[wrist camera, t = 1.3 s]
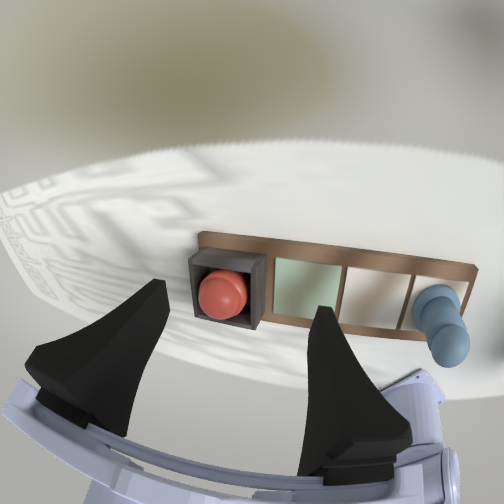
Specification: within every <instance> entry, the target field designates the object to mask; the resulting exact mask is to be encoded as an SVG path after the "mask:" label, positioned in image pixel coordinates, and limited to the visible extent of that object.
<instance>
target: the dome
mask: <svg viewBox="0 0 504 504" xmlns="http://www.w3.org/2000/svg"><path fill="white" fill-rule="evenodd" d="M250 296H251V284H250V281H249V279H248V278H247V276H246V275H245V274H244V273H243V272H239V271H233V270H226V269H220V268H215V269H214V270H213V271H212V272H211V273H210V274H209V275H208V276H207V277H206V278H205V279H204V280H203V281H202V283H201V285H200V289H199V296H198V299H199V304H200V307H201V308H202V310H203V311H204V313H205V314H207V315H208V316H209V317H211V318H214V319H219V320H222V319H227V318H230V317H233V316H236V315H237V314H239V313H240V312H241V310H242V309H243V307H244V306H245V304H246V303H247V301H248V299H249V298H250Z"/></svg>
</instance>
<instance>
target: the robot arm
mask: <svg viewBox="0 0 504 504" xmlns="http://www.w3.org/2000/svg"><path fill="white" fill-rule="evenodd" d="M169 313H170V307H169V301H168V295H167V289H166V282H165V281H164V280H159V279H153V280H151V281H150V282H149V283H148V284H146V285H145V286H144V287H143V288H141V289H140V290H139V291H138V292H136V293H135V294H134V295H133V296H131V297H130V298H129V299H127V300H126V301H125V302H124V303H122V304H121V305H119V306H118V307H117V308H115V309H114V310H112V311H111V312H110V313H108V314H107V315H105V316H104V317H102V318H101V319H99V320H97V321H96V322H94V323H92V324H91V325H89V326H87V327H85V328H83V329H81V330H79V331H77V332H75V333H73V334H70V335H68V336H66V337H63V338H61V339H58V340H56V341H52V342H49V343H46V344H42V345H39V346H36V348H35V349H34V351H33V352H32V354H31V355H30V356H29V358H28V360H27V361H26V363H25V368H26V370H27V371H28V373H29V374H30V375H31V376H32V377H33V379H34V380H35V381H36V382H37V383H38V384H39V385H40V386H41V389H40V390H39V391H38V390H37V389H36V388H34V387H33V386H32V385H30V384H29V383H27V382H26V381H24V380H23V379H20V381H19V382H18V384H17V386H16V387H15V389H14V391H13V393H12V394H11V396H10V398H9V400H8V402H7V403H6V405H5V407H4V409H3V411H2V415H3V416H5V417H6V418H7V419H8V420H9V421H10V422H11V423H13V424H14V425H15V426H16V427H17V428H19V429H20V430H21V431H22V432H23V433H25V434H26V435H27V436H28V437H30V438H31V439H32V440H33V441H35V442H36V443H38V444H39V445H40V446H41V447H43V448H44V449H45V450H47V451H48V452H50V453H51V454H52V455H54V456H55V457H57V458H59V459H60V460H61V461H63V462H64V463H66V464H68V465H69V466H71V467H72V468H74V469H76V470H77V471H79V472H81V473H82V474H84V475H86V476H88V477H89V478H91V479H92V482H91V484H90V487H89V490H88V492H87V495H86V498H85V501H84V504H460V470H459V463H458V458H457V454H456V451H455V450H453V449H451V448H450V447H448V448H445V449H444V447H443V437H442V430H441V421H440V415H439V408H438V405H440V404H442V403H443V402H445V401H446V396H445V395H444V394H443V393H442V391H441V390H440V389H439V387H438V386H437V385H436V384H435V382H434V381H433V380H432V379H431V377H430V376H429V375H428V374H427V373H426V371H425V370H419V371H418V372H416V373H414V374H412V375H411V376H409V377H407V378H406V379H404V380H402V381H400V382H398V383H397V384H395V385H393V386H391V387H389V388H387V389H385V390H383V391H381V392H379V390H378V389H377V388H376V387H375V386H374V384H373V383H372V381H371V380H370V379H369V377H368V376H367V374H366V373H365V371H364V370H363V368H362V367H361V365H360V364H359V362H358V360H357V359H356V357H355V355H354V353H353V351H352V350H351V348H350V346H349V344H348V342H347V340H346V338H345V336H344V334H343V332H342V329H341V327H340V325H339V323H338V320H337V318H336V316H335V313H334V311H333V309H332V307H329V306H321V305H318V308H317V311H316V314H315V317H314V320H313V323H312V326H311V329H310V332H309V337H308V350H307V362H308V395H309V396H308V410H307V419H306V427H305V435H304V441H303V447H302V453H301V458H300V464H299V468H298V473H297V476H284V475H272V474H262V473H254V472H247V471H240V470H234V469H228V468H223V467H218V466H213V465H208V464H204V463H200V462H195V461H192V460H187V459H184V458H180V457H177V456H173V455H170V454H166V453H163V452H160V451H157V450H154V449H151V448H148V447H145V446H143V445H140V444H137V443H135V442H132V441H129V440H127V439H124V438H123V437H125V436H127V430H128V425H129V419H130V415H131V411H132V406H133V402H134V399H135V396H136V392H137V389H138V385H139V382H140V380H141V377H142V374H143V371H144V368H145V366H146V364H147V362H148V359H149V358H150V356H151V353H152V352H153V350H154V348H155V346H156V344H157V342H158V340H159V338H160V336H161V334H162V332H163V329H164V327H165V324H166V322H167V319H168V316H169ZM111 448H112V449H114V450H116V451H119V452H121V453H123V454H126V455H128V456H131V457H133V458H136V459H138V460H141V461H144V462H146V463H149V464H152V465H155V466H158V467H161V468H164V469H167V470H171V471H174V472H178V473H181V474H185V475H189V476H192V477H196V478H200V479H205V480H209V481H214V482H219V483H224V484H230V485H236V486H243V487H249V488H257V489H267V490H279V491H256V492H255V494H254V495H253V496H252V498H246V497H240V496H234V495H229V494H224V493H219V492H215V491H210V490H206V489H202V488H198V487H194V486H190V485H186V484H183V483H179V482H176V481H172V480H169V479H166V478H162V477H159V476H156V475H153V474H150V473H147V472H144V469H143V467H141V466H139V465H137V464H135V463H134V462H132V461H131V460H130V459H129V458H127V457H125V456H123V455H121V454H119V453H117V452H115V451H113V450H111ZM286 491H292V492H286Z"/></svg>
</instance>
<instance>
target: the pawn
mask: <svg viewBox="0 0 504 504" xmlns="http://www.w3.org/2000/svg"><path fill="white" fill-rule="evenodd" d="M460 308H461V304H460V300H459V298H458V296H457V294H456V293H455V291H454V290H453V289H452V288H451V287H450V286H448V285H445V284H436V285H432V286H430V287H428V288H426V289H425V290H423V291H422V292H421V293H420V294H419V295H418V296H417V298H416V299H415V301H414V304H413V307H412V316H413V320H414V323H415V326H416V328H417V329H418V330H419V331H420V332H422V333H424V334H425V337H426V340H427V344H428V347H429V349H430V351H431V353H432V356H433V359H434V360H435V362H436V363H437V364H438V365H440V366H442V367H445V368H451V367H455V366H457V365H458V364H460V363H461V362H462V361H463V360H464V359H465V358H466V356H467V354H468V352H469V348H470V338H469V335H468V333H467V331H466V326H465V324H464V322H463V320H462V318H461V316H460V314H459V313H460Z"/></svg>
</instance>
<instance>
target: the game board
mask: <svg viewBox="0 0 504 504" xmlns="http://www.w3.org/2000/svg"><path fill="white" fill-rule="evenodd" d="M198 239H199V251H198V252H197V253H195V254H194V255H193V256H192V257H190V258H189V259H188V263H189V272H190V282H191V290H192V299H193V307H194V315H195V317H197V318H201V319H205V320H210V321H214V322H218V323H223V324H227V325H232V326H236V327H241V328H246V329H251V330H256V328H257V326H258V324H259V322H260V320H263V321H268V322H274V323H279V324H285V325H291V326H297V327H303V328H310V329H311V326H312V323H313V320H314V317H315V314H316V311H317V308H318V305H321V306H329V307H332V309H333V311H334V313H335V316H336V318H337V320H338V323H339V325H340V327H341V329H342V332H343V333H345V334H353V335H361V336H370V337H379V338H389V339H400V340H412V341H426V342H427V340H426V337H425V334H424V333H422V332H420V331H419V330H418V329H417V328H416V326H415V323H414V320H413V316H412V307H413V304H414V301H415V299H416V298H417V296H418V295H419V294H420V293H421V292H422V291H423V290H425V289H426V288H428V287H430V286H432V285H436V284H445V285H448V286H450V287H451V288H452V289H453V290H454V291H455V293H456V294H457V296H458V298H459V300H460V304H461V308H460V313H459V314H460V316H461V318H462V315H463V313H464V310H465V308H466V305H467V302H468V300H469V297H470V294H471V291H472V288H473V285H474V282H475V279H476V276H477V273H478V268H477V267H476V266H475V265H474V264H467V263H461V262H454V261H447V260H440V259H433V258H425V257H418V256H411V255H403V254H396V253H388V252H381V251H373V250H365V249H357V248H349V247H341V246H333V245H325V244H316V243H308V242H299V241H291V240H282V239H273V238H264V237H255V236H246V235H237V234H227V233H218V232H208V231H203V232H201V233H199V234H198ZM215 268H220V269H226V270H233V271H239V272H243V273H244V274H245V275H246V276H247V278H248V279H249V281H250V284H251V296H250V298H249V299H248V301H247V303H246V304H245V306H244V307H243V309H242V310H241V312H240V313H239V314H237V315H236V316H233V317H230V318H227V319H222V320H219V319H214V318H211V317H209V316H208V315H207V314H205V313H204V311H203V310H202V308H201V307H200V304H199V299H198V296H199V289H200V285H201V283H202V281H203V280H204V279H205V278H206V277H207V276H208V275H209V274H210V273H211V272H212V271H213V270H214V269H215Z"/></svg>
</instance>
